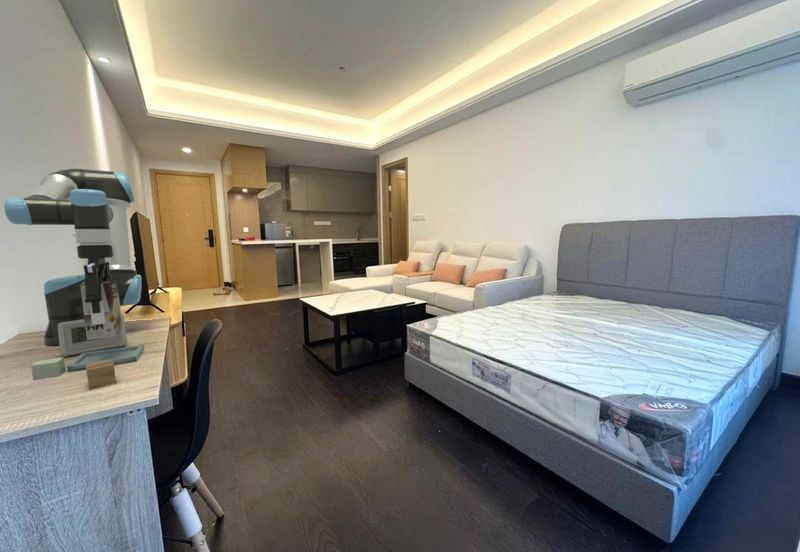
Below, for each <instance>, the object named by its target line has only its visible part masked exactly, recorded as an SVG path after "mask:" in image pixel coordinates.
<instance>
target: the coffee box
mask: <svg viewBox="0 0 800 552" xmlns="http://www.w3.org/2000/svg"><path fill="white" fill-rule="evenodd" d="M80 287H81V295H82V303H83V311H84V319H85V327H86V335H87V340H92V339H101V338H109V337H115V336H116V335H117V334H118V333H119V332H120V331H122V330H123V328H122V319H121V315H122V312H121V306H120V302H119V293H118V284H117V280H108V281H102V283H101V299H102V300H101V301H103V306H104V314H105V322H106V323H104V324H95V325H92V318H91V311H90V303H89V302H85V300H86V289H85V283H84V284H80Z"/></svg>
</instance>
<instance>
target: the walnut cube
mask: <svg viewBox="0 0 800 552" xmlns="http://www.w3.org/2000/svg"><path fill="white" fill-rule="evenodd" d="M85 370H86V376H87V378H86V379H87V384H88V390H93V389H98V388H102V387H106V386H109V385H113V384H116V383H117V380H116V371H115V365H114V363H113V360H107V361H102V362H97V363H92V364H87V365H86V369H85Z"/></svg>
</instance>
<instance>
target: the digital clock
mask: <svg viewBox="0 0 800 552" xmlns="http://www.w3.org/2000/svg"><path fill="white" fill-rule="evenodd" d="M121 319H122V328H123V330H122V331H120V332H119V333H118V334H117V335H116V336H115V337H109V338H101V339H92V340H87V335H86V327H85V319H82V320H76V321H69V322H62V323H59V324H58V336H59V345H58V346H59V352H60V356H61V358H62V357H64V358H66V357H67V358H68V357H73V356H78V357H79V356H80V355H81V354H82V353H88V352H96V351H103V350H110V349H117V348H124V347H127V345H128V336H127V329H126V323H125V322H126V321H125V316H124V315H123V314H121Z"/></svg>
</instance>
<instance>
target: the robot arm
mask: <svg viewBox="0 0 800 552" xmlns="http://www.w3.org/2000/svg"><path fill="white" fill-rule="evenodd" d="M135 201H136V200H135V196H134V193H133V189H132V186H131V181H130V178H129V176H128V174H126V173H124V172H121V171H113V170H111V171H110V170H109V171H107V170H95V169H85V168H83V169H82V168H67V169H61V170H58V171H53V172H51V173H49V174H47V175H45V176H44V177H43V178H42V179H41V180H40V183H39V187H37V188H36V189H35V190H34V191H32V193H30V194H29V195H28V196H26V197H22V196H18V197H8V198H6V199H5V200H4V203H3V204H4V214H5V216H6V219H7V220H8V221H9V222H10V223H11V224H15V225H27V226H33V225H34V226H41V225H42V226H44V225H45V226H56V225H57V226H58V225H60V226H74V232H73V233H72V236H73V237H75V241H76V242H75V243H76V244H79V245H77V246H76V250H77V257H78V259H82V260H83V259H87V264H84V265H83V272H84V273H83V274H76V275H68V276H63V277H57V278H52V279H49V280H46V281H45V282H44V284H43V289H44V290H43V291H44V293H43V295H44V298H45V299H44V300H45V304H46V305H45V306H46V313H47V317H48V318H47V319H48V323H47V326H46V330H45V333H44V337H43V340H44V343H43V344H44V345H45V346H60V345H59V336H58V324H59V323H62V322H69V321H76V320H82V319H84V311H83V303H82V295H81V287H80V284H84V283H85V289H86V300H85V302H89V303H90V311H91V318H92V325H95V324H104V323H106V322H105V314H104V306H103V301H101V300H102V299H101V283H102V281H108V280H117V284H118V293H119V302H120V307H126V306H133V305H137V304H139V302H140V299H141V294H142V279H143V278H142V275H141V274H137V270H136V269H135V268H133V267H132V263H131V262H132V261H131V252H130V241H129V240H130V239H129V230H128V227H129V226H128V219H127V210H128V209H129V208H130V207H131V204H132V203H135Z"/></svg>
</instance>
